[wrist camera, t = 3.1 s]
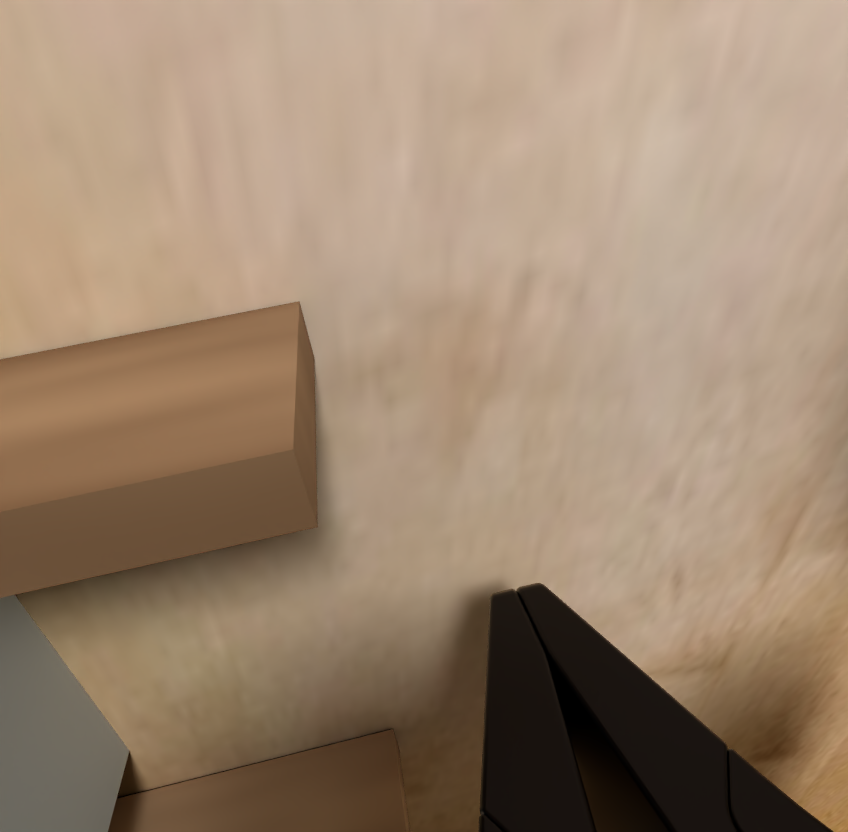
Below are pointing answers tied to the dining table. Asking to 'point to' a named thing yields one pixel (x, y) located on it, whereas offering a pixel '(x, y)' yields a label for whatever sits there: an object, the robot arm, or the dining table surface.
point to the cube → (50, 738)
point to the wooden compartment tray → (183, 521)
